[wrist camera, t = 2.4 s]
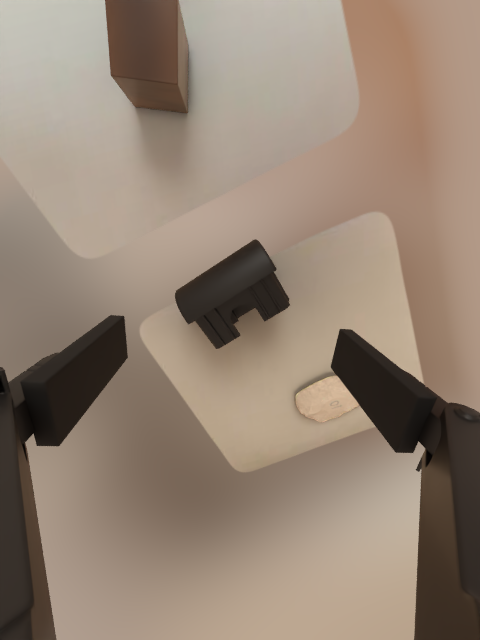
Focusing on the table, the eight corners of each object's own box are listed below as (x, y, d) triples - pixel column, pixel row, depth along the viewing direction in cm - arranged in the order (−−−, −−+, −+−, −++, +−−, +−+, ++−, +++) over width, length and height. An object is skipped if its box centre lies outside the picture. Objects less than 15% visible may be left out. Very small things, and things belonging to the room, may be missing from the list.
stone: (288, 386, 35) (291, 396, 33) (381, 348, 33) (390, 356, 31) (305, 425, 38) (310, 435, 36) (393, 391, 36) (402, 400, 34)
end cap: (252, 237, 28) (260, 239, 21) (282, 289, 30) (297, 305, 23) (181, 284, 29) (168, 299, 23) (214, 330, 31) (211, 355, 25)
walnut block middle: (188, 44, 22) (177, -7, 17) (187, 113, 23) (177, 84, 19) (130, 36, 21) (103, -19, 17) (134, 107, 23) (110, 75, 18)
